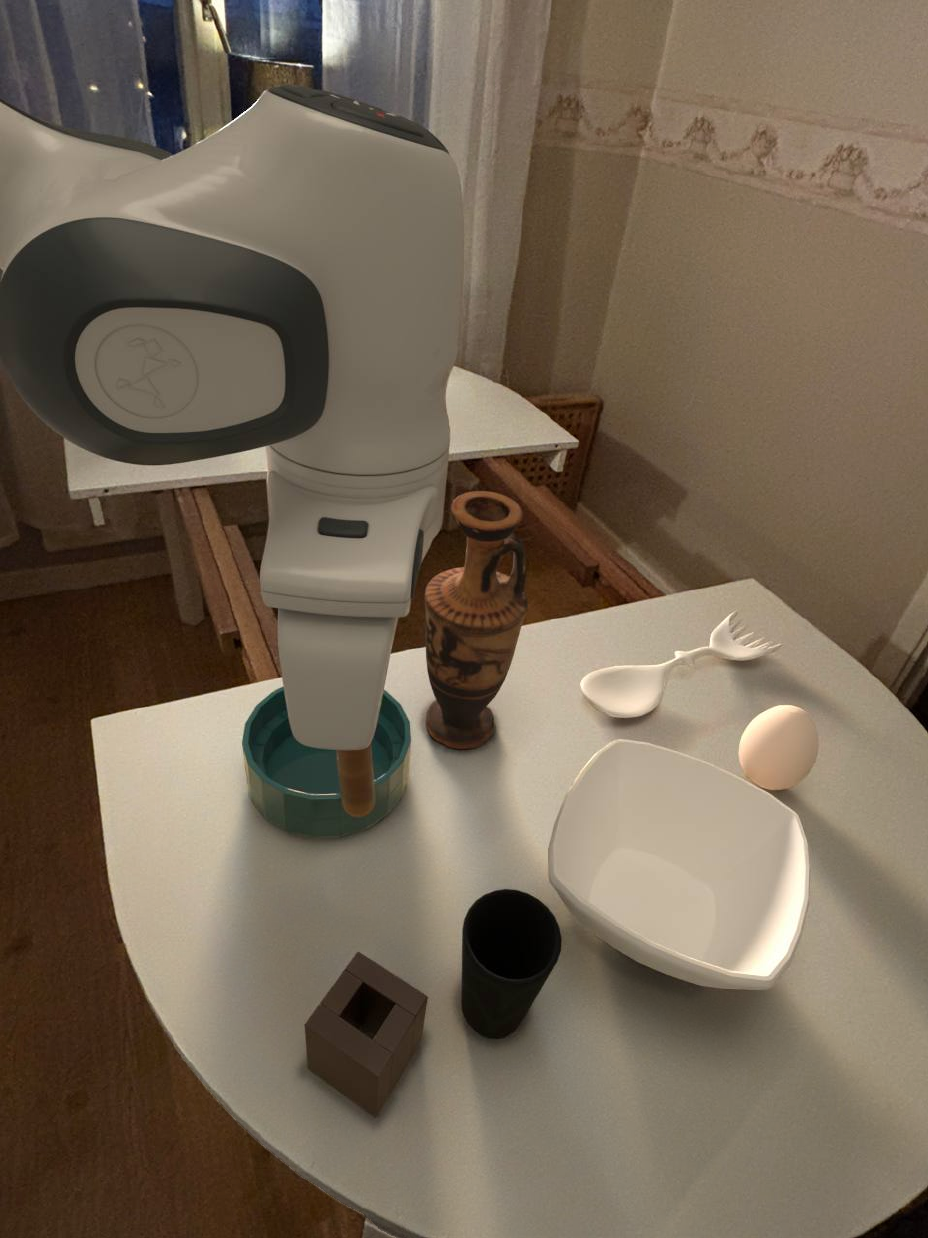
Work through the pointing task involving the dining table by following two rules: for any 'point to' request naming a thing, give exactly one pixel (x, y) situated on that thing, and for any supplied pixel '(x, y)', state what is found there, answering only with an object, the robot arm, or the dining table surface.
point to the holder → (349, 1053)
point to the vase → (474, 621)
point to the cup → (505, 959)
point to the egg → (779, 747)
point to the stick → (356, 780)
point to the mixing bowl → (319, 771)
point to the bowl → (682, 866)
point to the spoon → (663, 673)
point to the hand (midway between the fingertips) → (356, 684)
